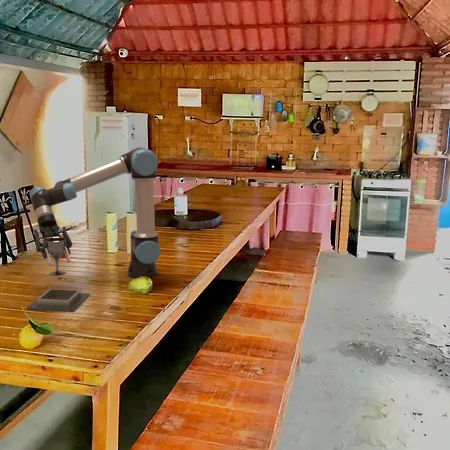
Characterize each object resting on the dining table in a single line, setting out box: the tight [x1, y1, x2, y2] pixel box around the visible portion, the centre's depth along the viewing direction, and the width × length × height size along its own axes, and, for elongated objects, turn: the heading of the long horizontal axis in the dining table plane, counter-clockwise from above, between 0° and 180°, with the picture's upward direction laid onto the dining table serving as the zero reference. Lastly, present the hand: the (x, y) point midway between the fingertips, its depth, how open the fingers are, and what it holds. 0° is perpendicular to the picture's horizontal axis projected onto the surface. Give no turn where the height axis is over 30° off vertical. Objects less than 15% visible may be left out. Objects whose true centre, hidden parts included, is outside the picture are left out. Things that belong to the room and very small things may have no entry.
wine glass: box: [45, 237, 67, 277], centre depth 218 cm, size 8×8×15 cm
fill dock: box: [26, 288, 91, 313], centre depth 221 cm, size 20×20×4 cm
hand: (59, 262), depth 216 cm, fingers closed on wine glass, 7 cm apart
